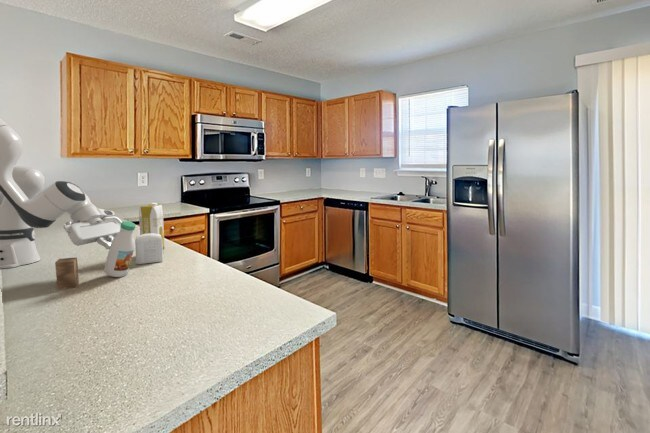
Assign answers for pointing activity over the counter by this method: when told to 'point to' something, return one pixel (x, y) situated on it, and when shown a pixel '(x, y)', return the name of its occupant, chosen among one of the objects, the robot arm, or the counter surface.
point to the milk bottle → (121, 251)
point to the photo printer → (149, 248)
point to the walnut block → (67, 273)
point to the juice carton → (151, 220)
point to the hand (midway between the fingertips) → (111, 247)
